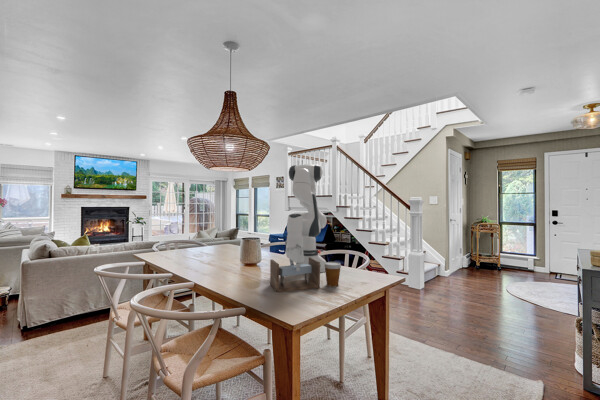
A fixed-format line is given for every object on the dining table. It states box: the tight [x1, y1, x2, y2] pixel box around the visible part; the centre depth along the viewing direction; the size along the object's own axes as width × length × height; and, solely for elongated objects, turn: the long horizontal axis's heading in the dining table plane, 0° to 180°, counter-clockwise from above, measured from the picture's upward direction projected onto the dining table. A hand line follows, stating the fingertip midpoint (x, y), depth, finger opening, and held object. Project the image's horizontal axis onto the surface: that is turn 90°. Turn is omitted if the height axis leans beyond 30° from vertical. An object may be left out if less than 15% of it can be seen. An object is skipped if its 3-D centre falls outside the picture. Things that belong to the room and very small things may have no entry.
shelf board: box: [279, 264, 312, 278], centre depth 162 cm, size 18×6×4 cm, turn 120°
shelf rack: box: [269, 257, 321, 293], centre depth 162 cm, size 24×14×14 cm, turn 109°
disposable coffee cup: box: [324, 261, 342, 287], centre depth 165 cm, size 10×10×12 cm
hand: (294, 268), depth 162 cm, fingers open, 8 cm apart
